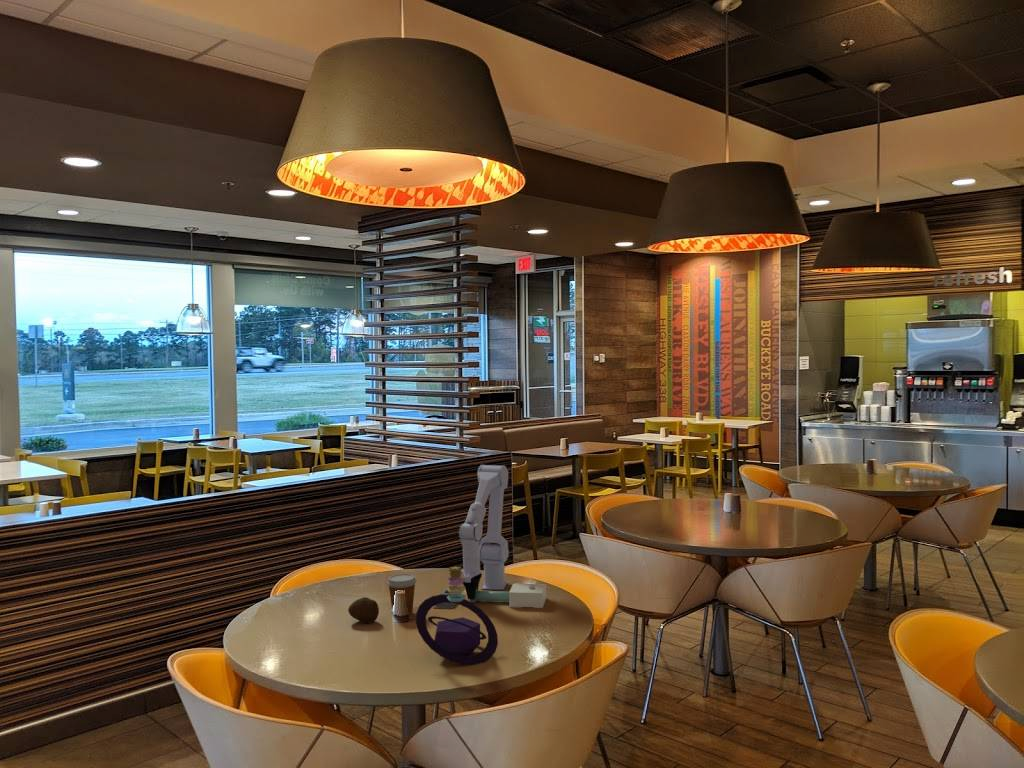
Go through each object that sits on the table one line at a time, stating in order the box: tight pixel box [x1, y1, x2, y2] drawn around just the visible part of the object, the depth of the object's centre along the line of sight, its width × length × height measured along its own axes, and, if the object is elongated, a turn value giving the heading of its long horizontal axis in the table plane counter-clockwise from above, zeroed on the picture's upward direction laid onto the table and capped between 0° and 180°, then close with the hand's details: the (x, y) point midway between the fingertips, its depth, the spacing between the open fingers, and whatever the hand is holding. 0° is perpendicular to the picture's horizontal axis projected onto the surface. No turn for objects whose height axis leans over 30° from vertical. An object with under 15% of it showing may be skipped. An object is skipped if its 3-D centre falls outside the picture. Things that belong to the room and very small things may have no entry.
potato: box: [347, 596, 380, 624], centre depth 253 cm, size 7×10×8 cm
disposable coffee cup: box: [386, 573, 417, 616], centre depth 260 cm, size 10×10×12 cm
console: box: [432, 588, 461, 610], centre depth 272 cm, size 15×7×2 cm, turn 171°
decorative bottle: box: [415, 566, 499, 666], centre depth 223 cm, size 22×21×25 cm
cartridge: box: [469, 588, 509, 603], centre depth 270 cm, size 3×15×4 cm, turn 81°
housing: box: [508, 582, 547, 609], centre depth 268 cm, size 10×11×6 cm
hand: (472, 597), depth 271 cm, fingers closed on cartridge, 3 cm apart
